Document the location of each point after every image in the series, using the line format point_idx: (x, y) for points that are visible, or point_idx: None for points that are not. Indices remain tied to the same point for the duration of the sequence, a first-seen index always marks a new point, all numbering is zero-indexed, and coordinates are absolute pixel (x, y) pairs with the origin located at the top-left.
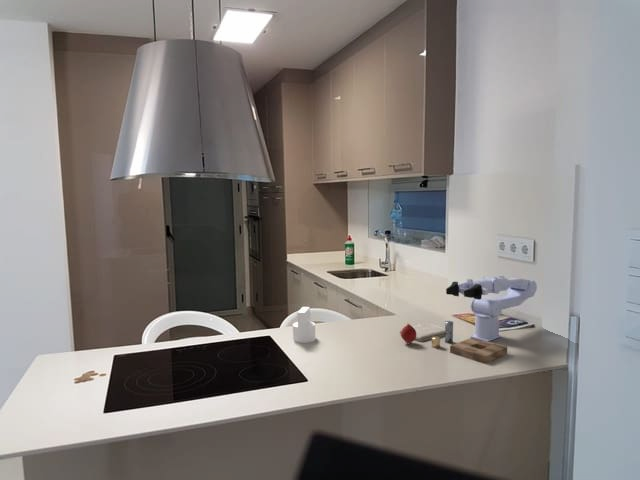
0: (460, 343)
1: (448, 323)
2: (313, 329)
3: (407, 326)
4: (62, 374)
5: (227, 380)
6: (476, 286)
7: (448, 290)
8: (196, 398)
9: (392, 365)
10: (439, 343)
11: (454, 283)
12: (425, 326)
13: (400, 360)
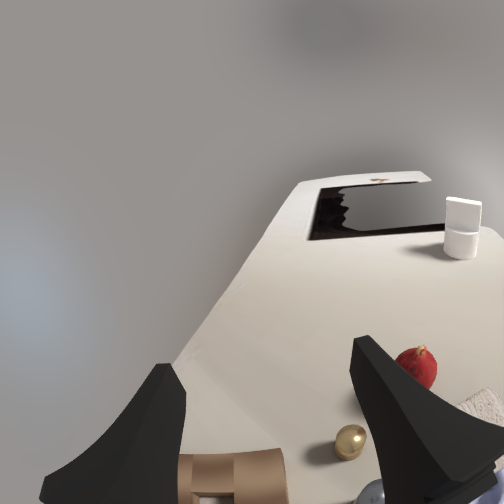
0: (273, 488)
1: (367, 485)
2: (454, 238)
3: (414, 350)
4: (385, 176)
5: (342, 209)
6: (78, 467)
7: (356, 359)
8: (317, 203)
9: (296, 314)
10: (336, 448)
11: (457, 438)
12: (501, 466)
13: (310, 333)
